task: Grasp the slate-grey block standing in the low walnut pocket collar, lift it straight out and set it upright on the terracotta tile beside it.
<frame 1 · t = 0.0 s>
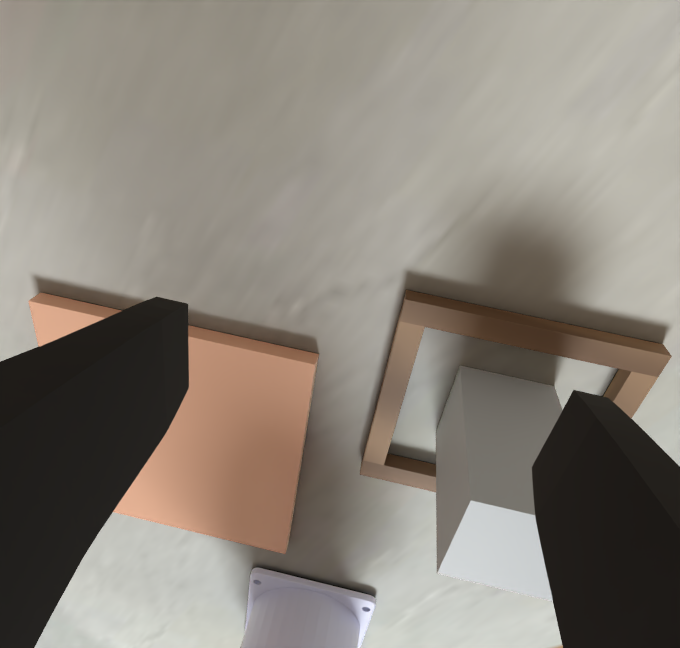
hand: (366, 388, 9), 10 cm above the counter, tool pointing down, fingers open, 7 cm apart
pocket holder: (491, 411, 22), on the counter
slate block: (491, 410, 22), resting in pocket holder
terracotta tile: (181, 433, 26), on the counter
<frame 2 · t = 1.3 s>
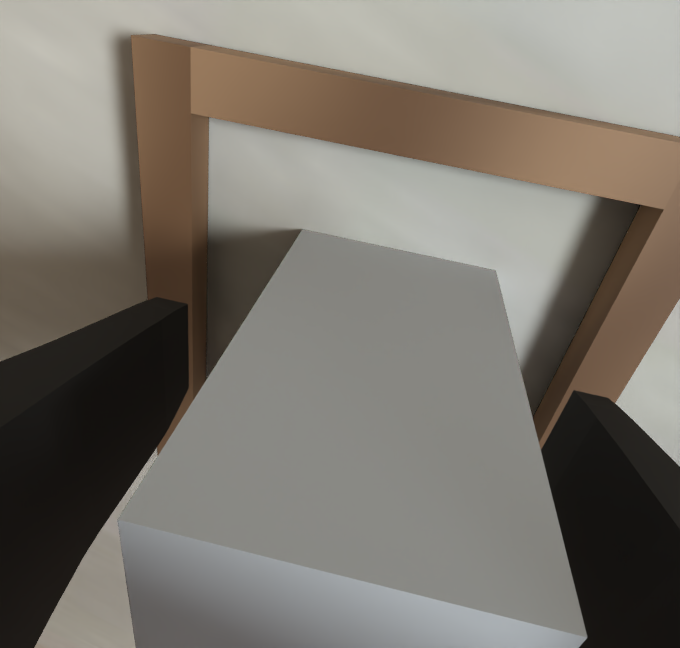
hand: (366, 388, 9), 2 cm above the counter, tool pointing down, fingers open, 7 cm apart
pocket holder: (378, 331, 11), on the counter
slate block: (378, 330, 11), resting in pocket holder
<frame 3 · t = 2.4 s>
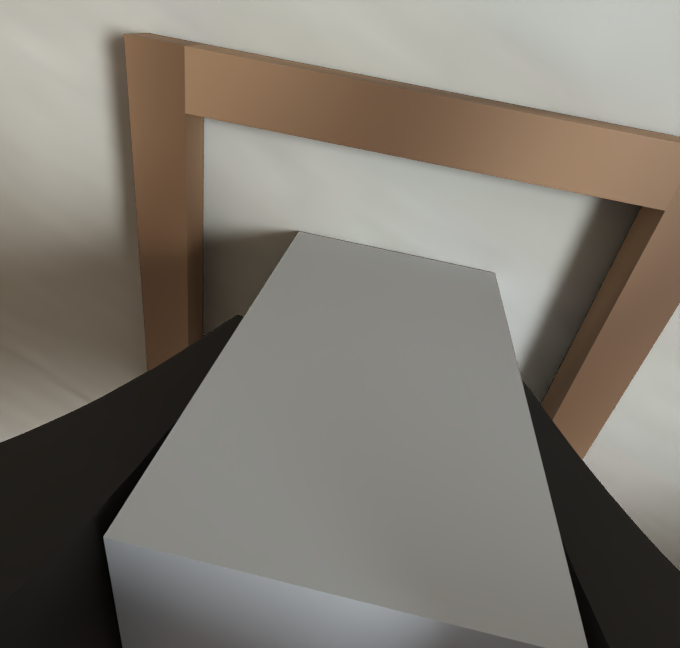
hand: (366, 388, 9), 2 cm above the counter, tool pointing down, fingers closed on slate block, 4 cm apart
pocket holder: (376, 334, 11), on the counter
slate block: (376, 333, 11), resting in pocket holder, touching gripper
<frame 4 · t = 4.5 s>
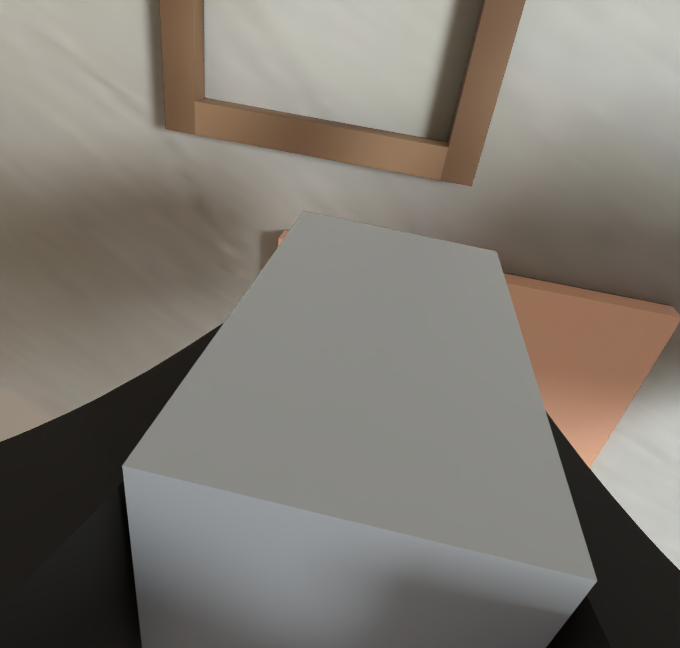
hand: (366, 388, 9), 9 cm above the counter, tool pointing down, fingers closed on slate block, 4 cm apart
slate block: (379, 314, 11), point 7 cm above the counter, touching gripper
terracotta tile: (430, 402, 21), on the counter
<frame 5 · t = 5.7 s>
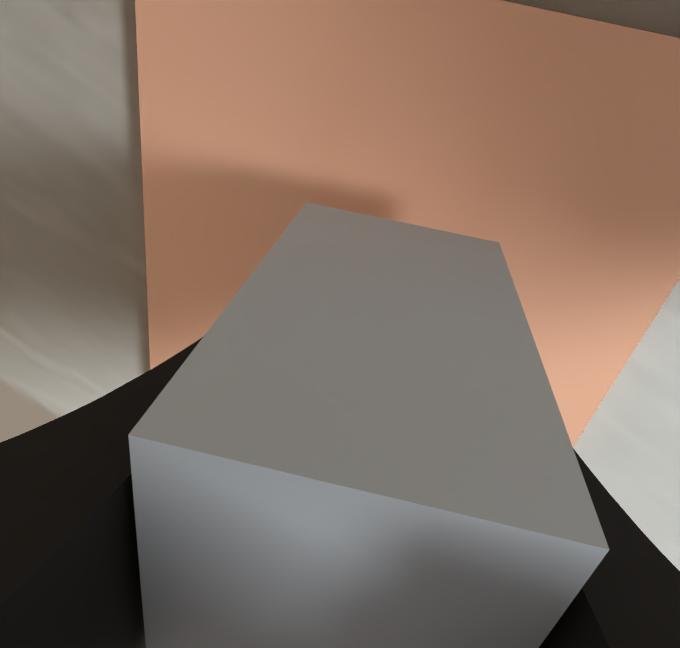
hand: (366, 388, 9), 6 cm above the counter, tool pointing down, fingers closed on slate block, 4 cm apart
slate block: (381, 306, 11), point 3 cm above the counter, touching gripper
terracotta tile: (390, 262, 14), on the counter
when the fingers open (4 cm above the counter, at t = 6.8 s): slate block drops 1 cm, resting on terracotta tile.
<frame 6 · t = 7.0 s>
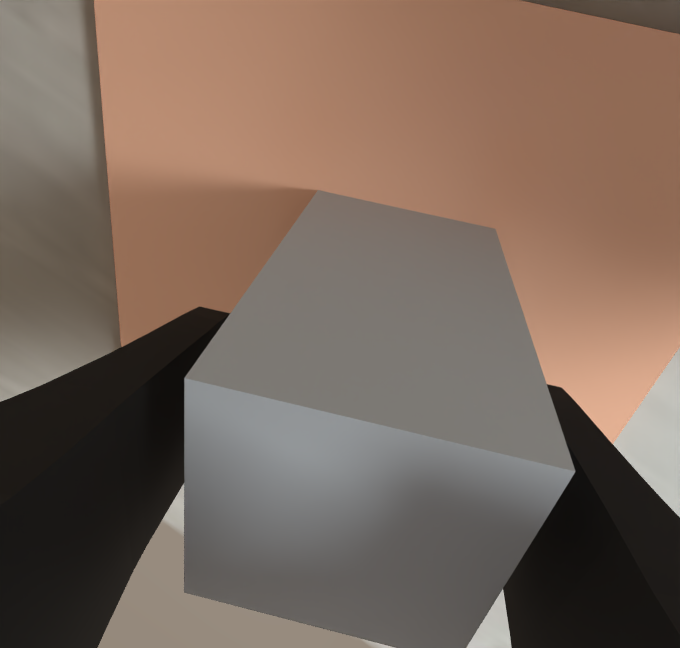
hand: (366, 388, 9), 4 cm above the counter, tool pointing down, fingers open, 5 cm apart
slate block: (386, 288, 12), point 1 cm above the counter, touching terracotta tile
terracotta tile: (384, 287, 13), on the counter
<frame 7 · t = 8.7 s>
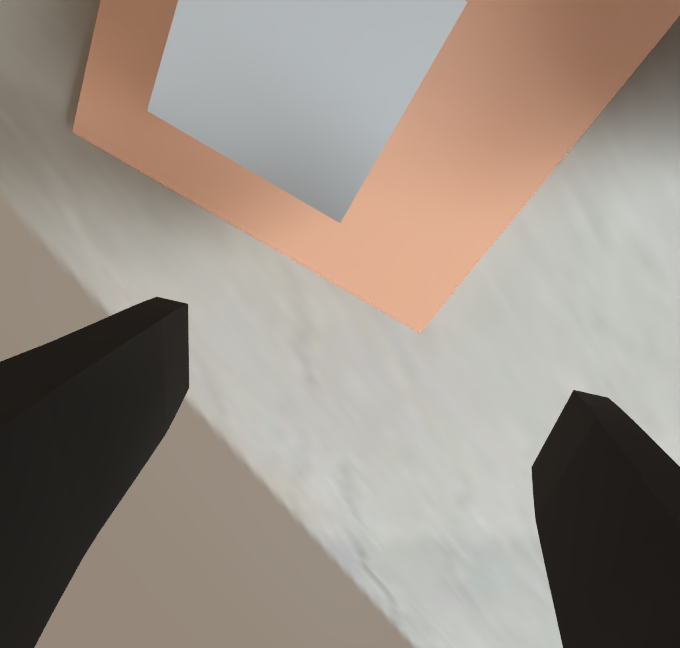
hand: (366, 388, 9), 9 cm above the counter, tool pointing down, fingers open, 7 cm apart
slate block: (351, 45, 14), point 1 cm above the counter, touching terracotta tile
terracotta tile: (347, 57, 15), on the counter
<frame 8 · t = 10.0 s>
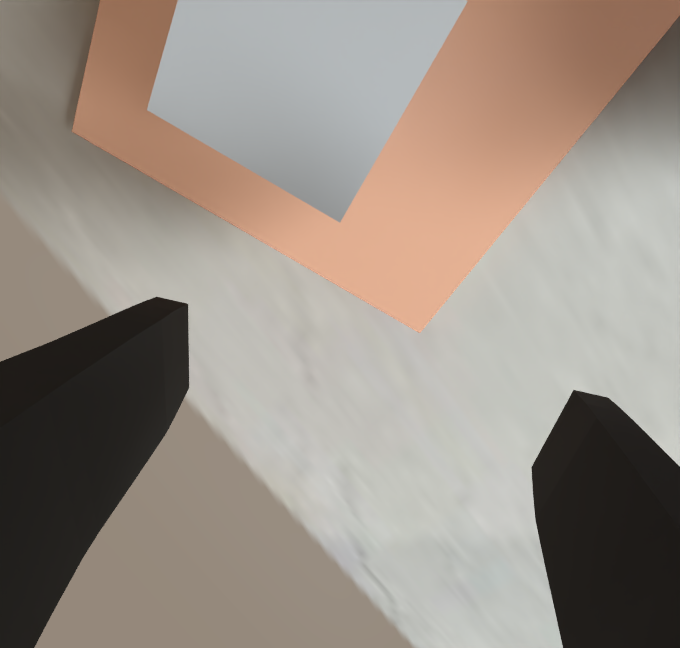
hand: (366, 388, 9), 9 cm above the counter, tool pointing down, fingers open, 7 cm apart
slate block: (351, 44, 14), point 1 cm above the counter, touching terracotta tile
terracotta tile: (347, 56, 15), on the counter
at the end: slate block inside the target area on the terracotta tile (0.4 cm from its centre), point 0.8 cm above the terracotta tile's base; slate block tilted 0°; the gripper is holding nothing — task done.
